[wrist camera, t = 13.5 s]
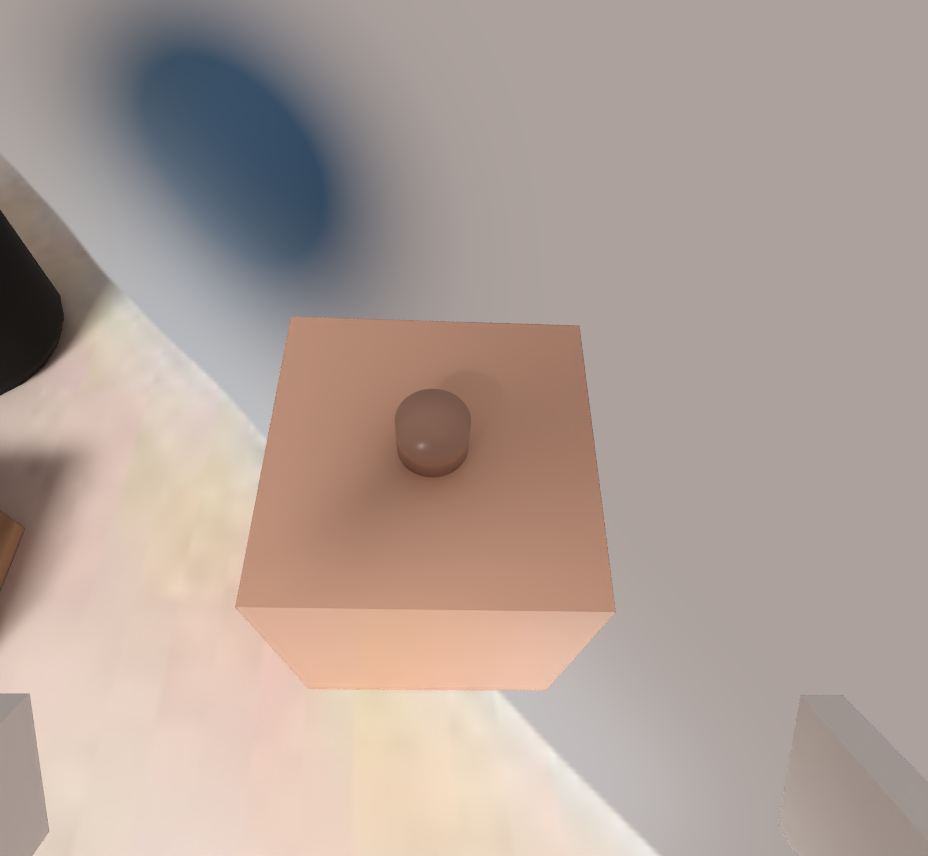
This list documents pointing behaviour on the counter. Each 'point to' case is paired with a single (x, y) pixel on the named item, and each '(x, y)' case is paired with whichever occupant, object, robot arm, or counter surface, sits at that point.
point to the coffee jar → (24, 311)
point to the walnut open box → (8, 543)
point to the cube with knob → (428, 507)
